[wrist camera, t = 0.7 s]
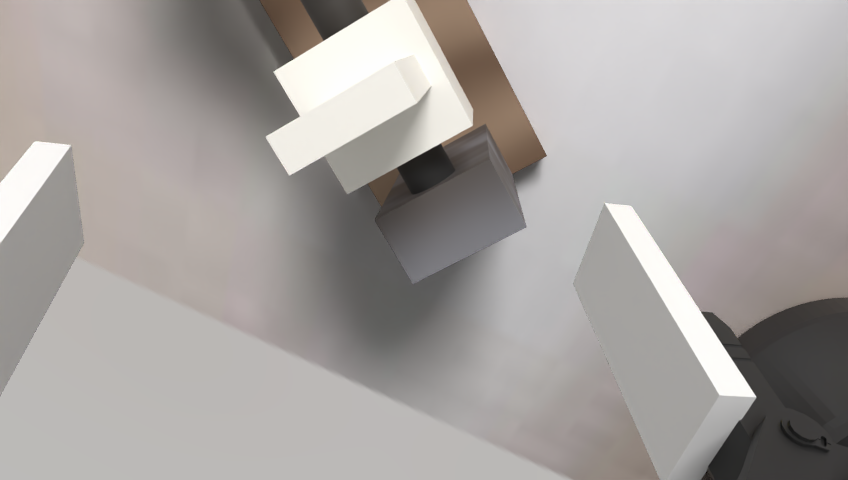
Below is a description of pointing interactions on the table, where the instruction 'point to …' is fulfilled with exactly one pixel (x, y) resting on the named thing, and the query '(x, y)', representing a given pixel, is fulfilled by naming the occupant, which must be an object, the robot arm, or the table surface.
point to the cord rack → (450, 160)
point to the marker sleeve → (370, 97)
